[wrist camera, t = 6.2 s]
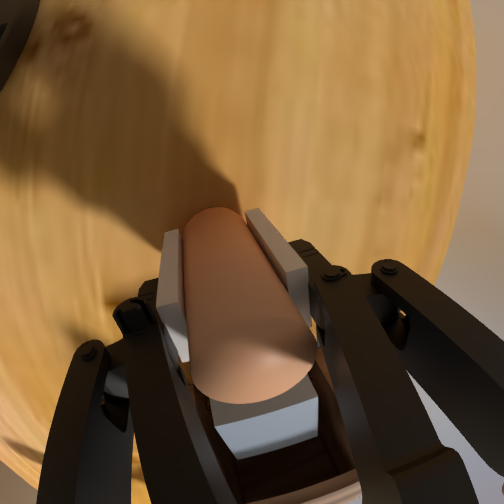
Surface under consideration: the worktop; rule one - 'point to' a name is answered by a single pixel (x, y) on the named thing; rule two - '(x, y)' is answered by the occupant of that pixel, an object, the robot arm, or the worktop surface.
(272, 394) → the egg topped joystick
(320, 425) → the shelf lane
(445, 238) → the worktop surface
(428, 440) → the robot arm
